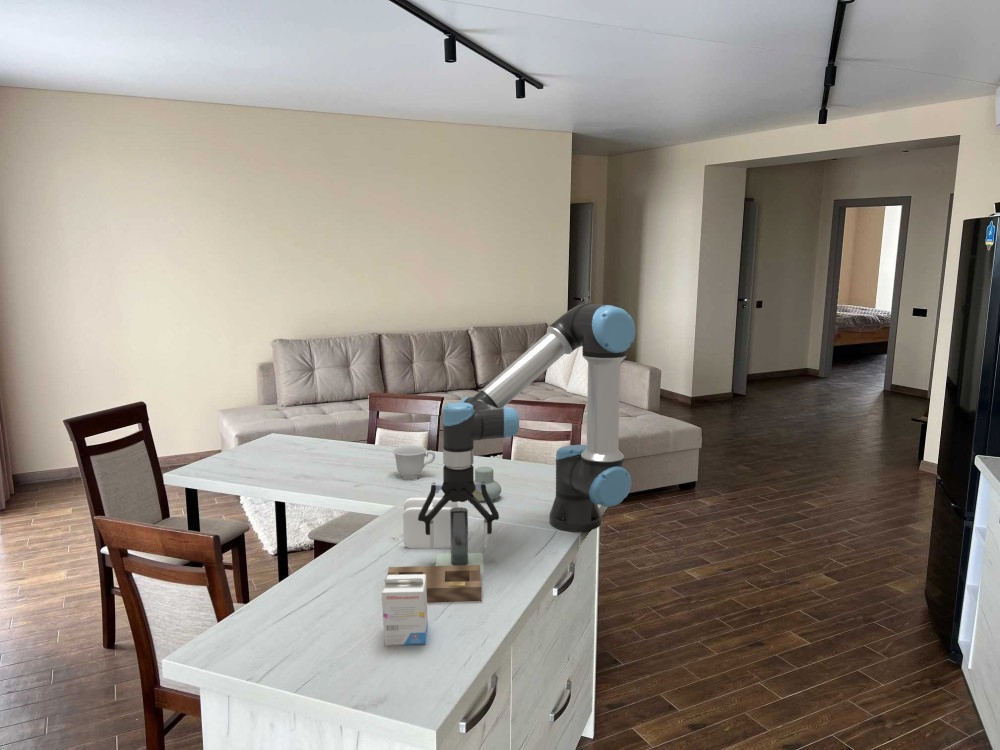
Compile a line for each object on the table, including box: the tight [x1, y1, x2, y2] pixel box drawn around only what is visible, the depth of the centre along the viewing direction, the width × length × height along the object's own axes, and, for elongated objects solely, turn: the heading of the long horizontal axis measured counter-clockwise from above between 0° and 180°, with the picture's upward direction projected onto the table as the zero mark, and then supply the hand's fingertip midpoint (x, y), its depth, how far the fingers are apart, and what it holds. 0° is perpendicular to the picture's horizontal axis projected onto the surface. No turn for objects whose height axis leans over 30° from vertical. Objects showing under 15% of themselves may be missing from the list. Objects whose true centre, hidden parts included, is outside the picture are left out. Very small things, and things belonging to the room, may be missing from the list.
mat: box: [435, 552, 485, 574], centre depth 187 cm, size 12×12×1 cm
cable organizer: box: [402, 497, 459, 549], centre depth 201 cm, size 15×11×12 cm
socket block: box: [386, 565, 482, 604], centre depth 173 cm, size 22×12×4 cm, turn 93°
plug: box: [450, 506, 469, 565], centre depth 186 cm, size 4×4×14 cm
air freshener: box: [473, 466, 502, 503], centre depth 237 cm, size 11×8×10 cm
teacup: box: [392, 445, 436, 481], centre depth 259 cm, size 12×15×10 cm
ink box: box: [381, 574, 429, 646], centre depth 152 cm, size 9×8×13 cm
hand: (458, 546), depth 186 cm, fingers open, 13 cm apart
